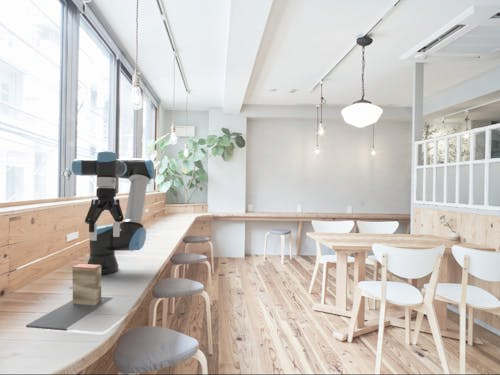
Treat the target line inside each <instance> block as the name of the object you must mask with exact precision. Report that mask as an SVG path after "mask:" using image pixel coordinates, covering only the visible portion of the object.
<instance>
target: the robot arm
mask: <svg viewBox="0 0 500 375" xmlns="http://www.w3.org/2000/svg"><path fill="white" fill-rule="evenodd" d="M71 172H72V174H74V175H75V176H84V177H85V176H91V177H92V176H96V187H97V188H96V190H95V191H96V192H95V193H96V195H95V196H96V197H97V198H92V199H91V203H90V207H89V209H88V210H87V211H88V212H87V214H86V216H85V219H84V223H86V224H87V225H88V232H89V237H88V238H89V258H88V261H87V264H92V265H101V276H102V275H107V274H109V275H110V274H113V273H116V272H117V271H119V263H118V260H117V257H116V254H115V252H117V251H119V252H120V251H121V252H122V251H123V252H125V251H127V252H128V251H130V252H133V251H141V249H142V248H144V245H145V243H146V239H147V229H146V228H145V227H144V225H143V223H142V220H143V219H142V218H143V212H144V206H145V199H146V194H147V186H148V185H149V184H151V180H154V179H155V176H156V173H155V166H154V162H153V160H152V159H150V158H120V159H119V158H118V154H117V152H115V151H111V150H101V151H100V150H99V151H98V152H97V156H96V158H75V159H73V161H72V162H71ZM117 178H120V179H126V180H127V179H128V181H129V182H130V186H129V193H128V198H127V203H126V208H125V213H124V214H125V215H124V214H123V210H122V206H121V205H120V199H115V198H116V196H117V188H116V187H117ZM104 211H108V212H109V213H110V215H111V217H112V218H113V220H114V221H113V223H112V224H106V225H104V224H103V225H100V226H98V223H96V222H97V221H98V219H99V218H100V216H101V215H102V214H103V212H104Z"/></svg>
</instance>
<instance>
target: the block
mask: <svg viewBox="0 0 500 375" xmlns="http://www.w3.org/2000/svg"><path fill="white" fill-rule="evenodd" d="M71 268H72V300H73V304H84V305H96V304H98V303H99V302H101V297H102V275H101V265H92V264H88V263H78V264H76V265H73V266H72V267H71Z"/></svg>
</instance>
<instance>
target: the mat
mask: <svg viewBox="0 0 500 375" xmlns="http://www.w3.org/2000/svg"><path fill="white" fill-rule="evenodd" d="M112 299H113V297H108V296H101V302H99V303H98V304H96V305H84V304H73V299H72V300H70V301H68V302H67V303H65V304H63V305H61V306H59V307H57V308H56V309H55V308H54V310H51V311H49V312H48V313H46V314H44V315H42V316H41V317H39V318H37V319H35V320H33V321H31V322H30V323H28V324H26V327H25V328H30V329H31V328H33V329H44V330H54V331H56V330H57V331H65V332H66V331H68V328H69V327H71V326H73V325H75V323H77V322H79V321H80V320H82V319H83V318H85V317H86V316H87V315H90V314H91V313H92V312H94V311H95V310H97V309H98V308H100V307H102V306H103V305H105V304H106V303H108V302H109V301H112Z"/></svg>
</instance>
